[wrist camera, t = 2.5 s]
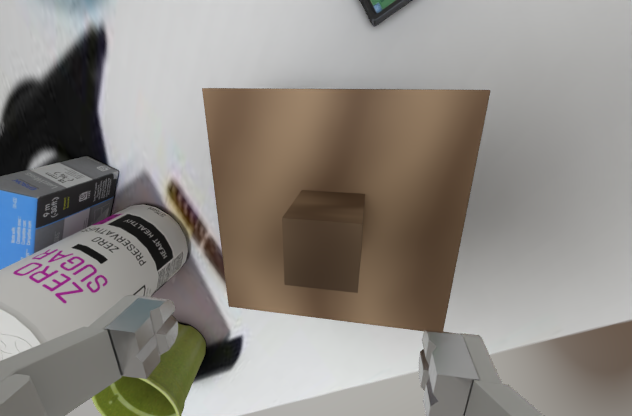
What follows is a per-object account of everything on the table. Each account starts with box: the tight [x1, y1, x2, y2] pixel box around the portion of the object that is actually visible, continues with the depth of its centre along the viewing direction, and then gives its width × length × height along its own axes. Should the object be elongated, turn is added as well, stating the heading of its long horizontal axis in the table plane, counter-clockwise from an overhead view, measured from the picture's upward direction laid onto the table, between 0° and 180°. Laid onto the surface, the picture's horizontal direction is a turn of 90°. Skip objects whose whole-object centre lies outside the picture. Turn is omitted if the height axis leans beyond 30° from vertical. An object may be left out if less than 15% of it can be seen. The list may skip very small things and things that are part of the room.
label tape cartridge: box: [0, 156, 118, 270], centre depth 27 cm, size 9×4×12 cm, turn 155°
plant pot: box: [92, 323, 206, 416], centre depth 34 cm, size 9×9×9 cm
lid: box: [202, 88, 490, 332], centre depth 16 cm, size 14×14×5 cm
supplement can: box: [0, 204, 188, 361], centre depth 26 cm, size 8×8×15 cm
